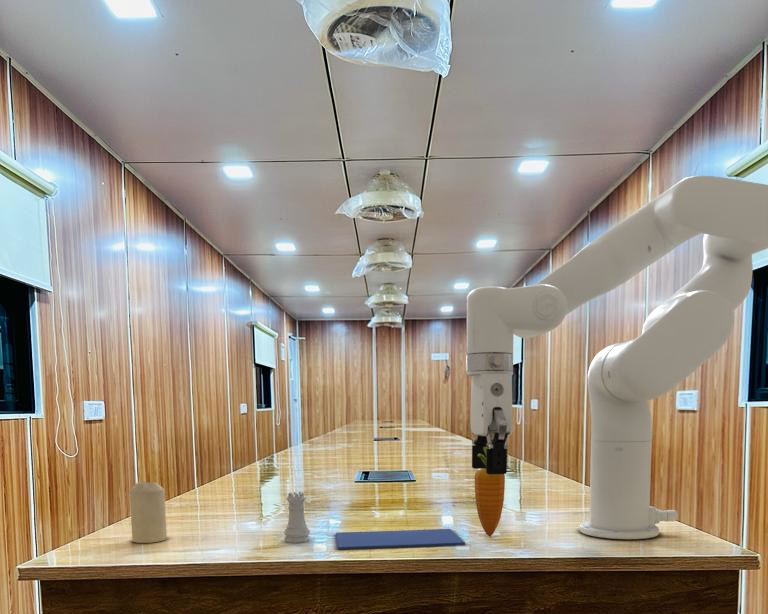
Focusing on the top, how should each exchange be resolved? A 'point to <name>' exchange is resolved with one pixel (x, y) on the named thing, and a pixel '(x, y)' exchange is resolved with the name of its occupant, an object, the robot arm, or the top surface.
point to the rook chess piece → (296, 520)
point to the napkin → (397, 539)
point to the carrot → (489, 497)
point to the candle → (148, 512)
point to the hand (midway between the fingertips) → (488, 471)
